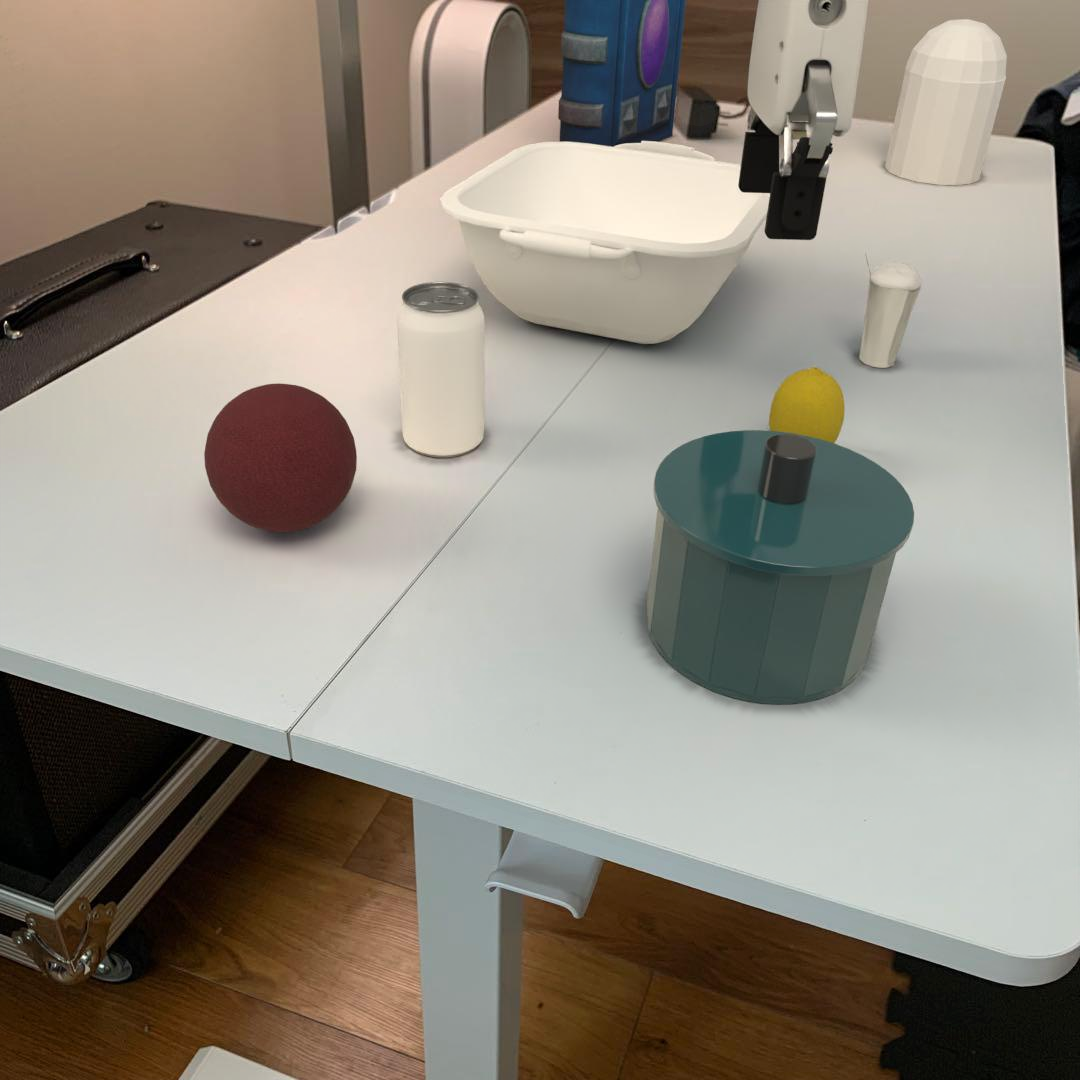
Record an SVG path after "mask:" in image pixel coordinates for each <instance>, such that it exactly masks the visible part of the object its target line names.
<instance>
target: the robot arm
mask: <svg viewBox="0 0 1080 1080" xmlns="http://www.w3.org/2000/svg"><path fill="white" fill-rule="evenodd" d="M868 8H869V0H758V2H757V9H756V15H755V22H754V27H753V28H754V29H753V36H752V43H751V48H750V49H751V51H750V58H749V68H748V77H747V101H748V103H749V105H750V109H749V113H748V115H747V123H746V124H747V125H746V128H747V131H745V133H744V140H743V146H742V155H741V161H740V164H741V168H740V176H739V183H738V187H739V189H740V191H741V192H744V193H770V198H769V205H768V211H767V218H766V219H765V223H764V234H765V236H766V237H767V239H769V240H787V241H789V240H792V241H811V240H814V239H815V238H816V237H817V234H818V228H819V222H820V216H821V210H822V206H823V200H824V195H825V190H826V189H825V188H826V184H827V179H828V175H829V172H830V155H832V153H833V149H834V147H832V146H833V145H834V144H833V143H832V138H833V136H834V137H835V138H836V137H837V138H841V137H843V136H844V135H846V134H847V133H848V132H849V131H850V129H851V126H852V122H853V116H854V110H855V103H856V96H857V90H858V89H857V88H858V82H859V76H860V69H861V62H862V55H863V48H864V42H865V41H864V40H865V34H866V32H865V31H866V25H867V16H868ZM794 140H798V141H797V142H796V146H795V148H793V147H794V143H793V141H794Z"/></svg>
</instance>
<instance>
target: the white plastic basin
mask: <svg viewBox="0 0 1080 1080" xmlns="http://www.w3.org/2000/svg"><path fill="white" fill-rule="evenodd" d="M740 168H741V163H734V162H726V161H719V160H716V158H714V157H713V156H712V155H710V154H707V153H705V152H701V151H698V150H696V148H695V147H692V146H687V145H683V144H677V143H672V142H664V141H659V142H655V141H641V143H626V144H620V145H616V146H614V147H611V146H603V145H596V144H589V143H578V142H559V141H543V142H536V143H530V144H529V143H528V144H525V145H521V146H519V147H517V148H515V149H513V150H511V151H510V152H508V153H506V154H505V155H503V156H502V157H499V158H498V159H497V160H495V161H494V162H491V163H490V164H489V165H487V166H485V167H483V168H482V169H481V170H479V171H477V172H475V173H474V174H472V175H470V176H469V177H467V178H465V179H464V180H462V181H461V182H459V183H458V184H456V185H455V186H453V187H451V188H449V189H447V190H446V191H445V192H444V193H443V194H442V195H441V197H440V198H439V200H438V205H439V206H440V207H439V208H441V209H440V210H441V211H442V213H444V214H445V215H447V216H449V217H451V218H453V219H454V220H456V221H458V223H459V227H460V230H461V231H460V232H461V234H462V239H463V241H464V245H465V247H466V249H467V252H468V255H469V258H470V260H471V262H472V266H473V267H474V270H475V272H476V274H477V275H478V276H479V278H480V279H481V281H482V282H483V284H484V285H485V287H486V288H487V290H488V291H489V292H490V293H491V294H492V295H493V296H494V298H495V299H496V300H497V301H498V302H499V303H500V304H502V305H503V306H505V307H506V308H507V309H509V311H511V312H512V313H513V314H514V315H516V316H517V317H518V318H520V319H521V320H525V321H527V322H530V323H532V324H536V325H542V326H545V327H552V328H555V329H562V330H567V331H572V332H578V333H583V334H588V335H593V336H598V337H603V338H609V339H614V340H620V341H623V342H624V341H625V342H630V343H635V344H640V345H656V344H660V343H664V342H667V341H670V340H671V339H674V337H676V336H677V335H678V334H680V333H681V332H684V331H685V330H687V329H688V328H690V327H691V325H693V324H694V323H695V321H697V320H698V319H699V318H700V316H701V315H702V314H703V313H704V312H705V310H706V309H707V307H708V306H709V304H710V303H711V302H712V300H713V299H714V298H715V296H716V294H717V293H718V292H719V291H720V289H721V288H722V286H723V285H724V283H725V282H726V280H727V279H728V277H730V275H731V274H732V272H733V271H734V269H735V268H736V266H737V265H738V263H739V262H740V261H741V259H742V257H743V256H744V254H745V253H746V252H747V250H748V248H749V247H750V245H751V242H752V240H753V238H754V236H755V235H756V233H757V231H758V230H759V229H760V228H761V226H762V225H763V223H764V222H765V221H766V218H767V211H768V205H769V198H770V193H744V192H741V191H740V189H739V187H738V183H739V176H740Z"/></svg>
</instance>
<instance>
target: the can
mask: <svg viewBox="0 0 1080 1080" xmlns="http://www.w3.org/2000/svg"><path fill="white" fill-rule="evenodd" d="M401 299H402V303H401V306H400V307H399V310H398V313H397V319H396V321H397V322H396V323H397V348H398V369H399V371H398V372H399V391H400V393H399V394H400V412H401V428H402V429H401V431H402V439H403V441H404V443H405V444H406V445H407V446H408V447H409V448H410V449H411V450H413V451H414V452H415V453H417V454H420V455H423V456H426V457H431V458H439V459H440V458H455V457H460V456H463V455H466V454H468V453H470V452H472V451H474V450H475V449H476V448H478V446H479V445H480V444H481V443H482V441H483V439H484V435H485V314H484V312H483V311H484V310H483V309H482V306H481V305H480V303H479V300H480V296H479V293H478V292H477V290H475V289H474V288H472V287H470V286H468V285H465V284H462V283H457V282H450V281H430V282H429V281H428V282H424V283H419V284H415V285H413V286H410V287H409V288H407V289H405V290H404V291H403V293H402V295H401Z"/></svg>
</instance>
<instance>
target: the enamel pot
mask: <svg viewBox="0 0 1080 1080" xmlns="http://www.w3.org/2000/svg"><path fill="white" fill-rule="evenodd" d="M896 555H897V554H895V555H893V556H891V557H890V558H888V559H887V560H885V561H883V562H881V563H879V564H877V565H875V566H872V567H869V568H866V569H863V570H859V571H855V572H850V573H845V574H837V575H827V576H801V575H787V574H780V573H772V572H767V571H762V570H758V569H753V568H749V567H746V566H743V565H739V564H736V563H733V562H730V561H728V560H725V559H722V558H720V557H717V556H715V555H713V554H711V553H709V552H707V551H705V550H703V549H701V548H699V547H698V546H696V545H694V544H693V543H691V542H689V541H688V540H687V539H685V538H684V537H683V536H681V535H680V534H679V533H678V532H676V531H675V530H674V529H673V528H672V527H671V526H670V525H669V524H668V522H667V521H666V520H665V519H664V517H663V516H662V515H661V513H660V511H659V509H658V508H657V511H656V520H655V528H654V537H653V546H652V554H651V563H650V573H649V582H648V589H647V591H648V592H647V598H646V613H647V614H646V619H647V630H648V633H649V637H650V639H651V642H652V643H653V645H654V648H656V650H657V651H658V653H659V655H660V656H662V658H663V659H664V660H665V661H666V662H667V663H668V664H669V665H670V666H671V667H672V668H673V669H675V670H676V671H677V672H678V673H679V674H681V675H683V676H684V677H685V678H686V679H688V680H690V681H692V682H694V683H695V684H697V685H699V686H701V687H703V688H704V689H707V690H710V691H711V692H714V693H716V694H720V695H722V696H726V697H729V698H732V699H737V700H741V701H744V702H750V703H758V704H768V705H793V704H800V703H801V704H803V703H808V702H811V701H812V702H813V701H816V700H820V699H824V698H826V697H829V696H831V695H834V694H836V693H838V692H840V691H841V690H843V689H844V688H846V687H847V686H848V685H850V684H851V683H853V681H854V680H855V679H856V678H857V677H858V676H859V675H860V673H861V672H862V670H863V669H864V667H865V666H866V664H867V661H868V657H869V654H870V650H871V646H872V643H873V639H874V636H875V631H876V628H877V624H878V621H879V617H880V614H881V609H882V606H883V604H884V603H883V602H884V599H885V595H886V592H887V588H888V584H889V580H890V577H891V573H892V570H893V566H894V562H895V558H896Z"/></svg>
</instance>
